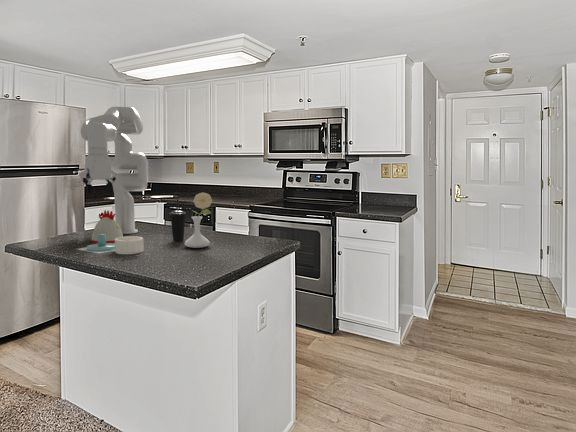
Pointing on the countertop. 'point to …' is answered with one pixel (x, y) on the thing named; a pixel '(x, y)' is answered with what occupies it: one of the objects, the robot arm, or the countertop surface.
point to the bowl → (129, 245)
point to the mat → (94, 251)
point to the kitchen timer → (107, 228)
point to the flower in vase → (197, 238)
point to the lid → (101, 244)
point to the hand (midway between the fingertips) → (99, 193)
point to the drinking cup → (178, 224)
